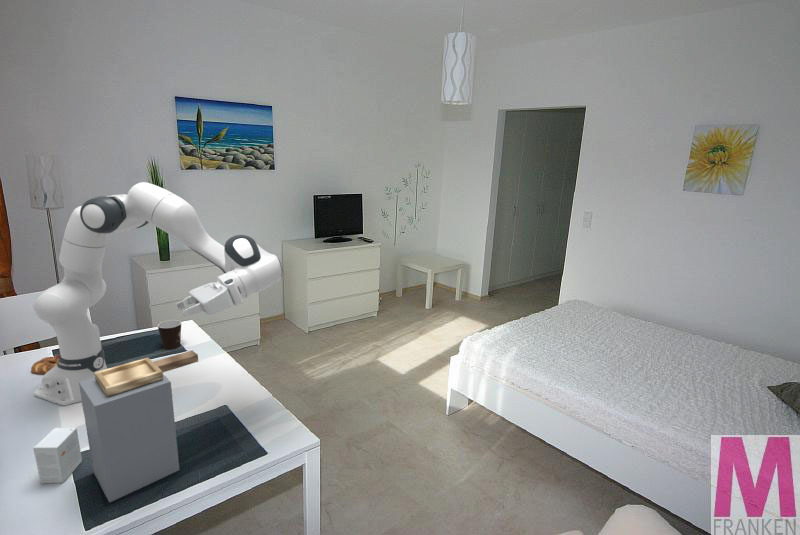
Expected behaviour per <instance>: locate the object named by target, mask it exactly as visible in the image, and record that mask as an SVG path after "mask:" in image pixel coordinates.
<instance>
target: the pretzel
mask: <svg viewBox="0 0 800 535" xmlns="http://www.w3.org/2000/svg"><path fill="white" fill-rule="evenodd" d="M58 355H59V354H56V355H55V356H46V357H43V358H41V359H39V360H38V361H36V362H34V363H33V364H32V366H31V367H30V368H31V369H30V371H31V373H32V374H35V375H41V376H44V375H45V374H46V373H47V372H48V371H49V370H51V369H52V368H53V367H55V366H56V365H57V363H58V359H57V360H54V359H55V358H57V357H56V356H58ZM54 357H55V358H54Z"/></svg>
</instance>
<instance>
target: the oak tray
mask: <svg viewBox="0 0 800 535" xmlns="http://www.w3.org/2000/svg"><path fill="white" fill-rule="evenodd" d="M198 362H199V355H198V353H196V352H195V351H194V350H189V351H185V352H181V353H179V354H175V355H171V356H168V357H163V358H161V359H157V360H155V361H153V360H152V359H151V358H149V357H144V358H140V359H138V360H133V361H130V362H127V363H123V364H119V365H116V366H113V367H110V368H109V367H107V369H105V370H101V371H98V372H94V374H95V380H96V381H97V383H98V384H99V385H100V387H101V388H102V390H103V391H104V392H105V394H106V395H107V397H108V396H111V395H114V394H117V393H120V392H123V391H126V390H130V389H133V388H136V387H139V386H142V385H145V384H148V383H152V382H155V381H158V380H161V379H163V374H164V373H166V372H169V371H172V370H175V369H179V368H181V367H185V366H189V365H192V364H195V363H198Z"/></svg>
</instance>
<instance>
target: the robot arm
mask: <svg viewBox="0 0 800 535" xmlns="http://www.w3.org/2000/svg"><path fill="white" fill-rule="evenodd" d="M148 224H151V225H153V226H155V227H156V228H158V229H160V230H162V231H163V232H165V233H167V235H170V236H171V237H173V238H175V239H176V240H178V241H179V242H181V243H182V244H183V245H185V246H187V248H188V249H189V248H190V250H192V251H194V252H195V253H196V254H198V255H200V256H201V257H202V258H204V259H205V260H207V261H209V262H210V263H212V264H213V265H214V266H216V267H217V268H219V270H220V271H222V273H223V274H220V275H218V276H216V282H215V281H214V282H208V283H206V284H203V285H200V286H197V287H196V288H193V289H191V290H190V291H188V294H189V295H188V296H186V297H185V298H184V299H183V300H181V301H179V302H176V304H175V306H176V309H177V310H179V311H180V310H182V311H181V312H182V315H183V316H184V317H189V316H192V315H195V314H200V313H202V312H205V314H207V315H212V314H216V313H219V312H221V311H223V310H226V309H229V308H231V307H233V306H239V305H241V304H243V303H244V300H245V299H247V298H248V297H250V296H251V295H253V294H255V293H258V292H262V291H264V290H265V289H268V288H270V287H272V286H273V285H275V284H277V283H278V282H279V281H281V279H282V277H283V266H282V263H281V261H280V258H279V257H278V256H277V255H276V254H273V253H270V252H268V251H267V250H265V249H263V248H262V247H261V246H260V245H259V244H258V243H257V242H256V241H255V239H254V238H252V237H251V236H249V235H246V234H235V235H233V236H231V237H229V238H228V239H227V240H226V241H225V244H224V245H222V244H221V243H220V242H218V241H217V240H215V239H214V238H213V237H212V236H210V235H209V233H208V232H207V231H206V229H205V228H204V226H203V224H202V222H201V220H200V218H199V215H198V213H197V211H196V209H195V208H194V206H192V205H191V204H190V203H189V202H188V201H187V200H185V199H184V198H182V197H181V196H178V195H177V194H175V193H173V192H172V191H170V190H168V189H165V188H163V187H161V186H158V185H156V184H153V183H150V182H145V181H144V182H143V181H141V182H138V183H136V184H134V185H132V187H130V189H129V190H128V192H127V194H124V193H122V194H121V193H120V194H119V193H118V194H112V195H105V196H103V195H101V196H100V195H99V196H96V197H92V198H90V199H88V200H86V201H84V202H83V203H82V205H80V206H79V205H78V206H77V207H76V208H74V209H73V211H72V213H71V214H70V217H69V219H68V221H67V224H66V227H65V229H64V234H63V237H62V242H61V248H60V251H59V256H58V262H59V264H60V265H61V266H62V267H63V272H64V273H63V274H64V275H63V278H62V279H61V281H60V282H59V283H57V284H54V285H52V286H51V287H49V288H46V289H45V290H44V291H43V292H42V293H41V294H40V295H39V296H38V297H37V298H36V300H34V303H33V311H34V314H36V317H38V318H39V319H40V320H41V321H42V322H45V323H47V324H49V325H50V327H51V328H52V329H53V331H54V333H55V335H56V338H57V343H58V348H59V349H58V350H59V354H57V355H58V356H56V355H55V356H56V357H57V358H55V356H53V357H54V358H55V359H54V360H57V359H58V363H57V365H56V366H55V367H53V368H52V369H51V370H49V371H48V372H47V373H46V374H45V375H42V377H41V378H42V379H41V386H39V387H37V388H36V389H35V390H34V392H33V396H35V397H37V398H40V399H43V400H45V401H48V402H51V403H54V404H56V403H57V404H56V405H59V406H68V405H72V404H75V403H79V402H80V403H81V402H82V399H81V393H80V386H79V382H80V381H84V380H87V379H91V378H94V377H95V374H94V372H98V371H101V370H105V369H108V367H107V363H106V360H105V351H104V347H102V341H101V334H100V328H99V327H98V325H97V324H95V323H93V322H91V320H90V319H89V315H88V309H89V308H91V307H92V306H94V305H95V304H97V303H98V302H100V300H102V298H103V297H104V296H105V293H106V292H107V284H106V281H105V280H104V279H103V273H102V272H103V271H102V269H103V261H104V257H105V254H106V253H105V252H106V249H107V248H106V247H107V244H108V241H109V240H108V239H109V235H110V234H111V233H123V232H126V231H129V230H130V231H131V230H134V229H140V228H143V227H145V226H147V225H148ZM193 304H195V305H193ZM191 305H193V306H191ZM189 306H190V307H189Z"/></svg>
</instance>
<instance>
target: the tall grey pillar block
mask: <svg viewBox="0 0 800 535" xmlns="http://www.w3.org/2000/svg"><path fill="white" fill-rule="evenodd" d="M79 386H80V393H81V399H82V401H81V403H82V404H81V405H82V410H83V418H84V422H85V428H86V429H85V430H86V434H87V442H88V447H89V453H90V454H89V455H90V458H91V459H90V460H91V466H92V472H93V474H94V476H95V478H96V481H98V483H99V486H100V487H101V490H102V491H103V493H104V496H105V498H106V499H107V501H108V503H112V502H114V501H116V500H118V499H120V498H123V497H125V496H127V495H129V494H132V493H134V492H135V491H137V490H141V489H142V488H144V487H146V486H149V485H150V484H153V483H155V482H157V481H159V480H162V479H163V478H166V477H168V476H169V475H170V476H171V475H172V474H174V473H176V472H178V471H180V462H179V460H180V459H179V452H178V442H177V433H176V431H177V430H176V422H175V413H174V412H175V410H174V401H173V393H172V382H171V380H170V379H169V378H167V376H166V375H165V374H164V373H163V379H161V380H158V381H155V382H152V383H148V384H145V385H142V386H139V387H136V388H133V389H130V390H126V391H123V392H120V393H117V394H114V395H111V396H108V397H107V395H106V394H105V392H104V391H103V390H102V388H101V387H100V385H99V384H98V383H97V381H96V380H95V377H94V378H91V379H87V380H84V381H80V382H79Z"/></svg>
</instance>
